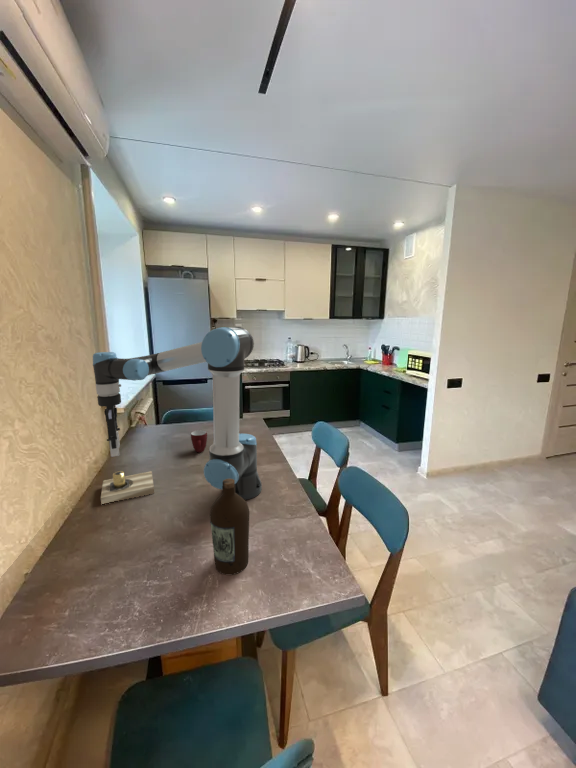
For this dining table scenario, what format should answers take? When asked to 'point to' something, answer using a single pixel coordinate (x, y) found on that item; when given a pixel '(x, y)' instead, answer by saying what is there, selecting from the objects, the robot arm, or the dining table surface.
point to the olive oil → (230, 530)
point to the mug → (199, 440)
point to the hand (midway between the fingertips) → (115, 451)
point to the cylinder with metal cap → (119, 479)
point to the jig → (128, 488)
